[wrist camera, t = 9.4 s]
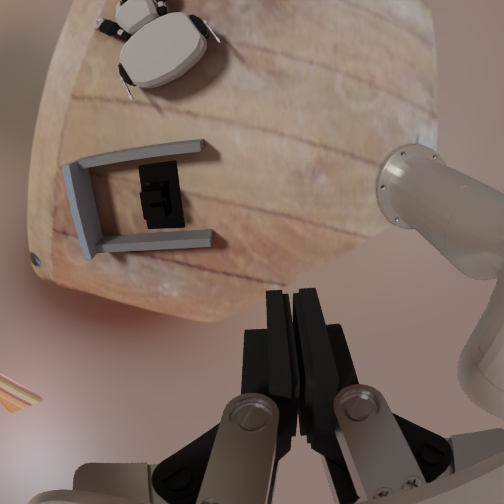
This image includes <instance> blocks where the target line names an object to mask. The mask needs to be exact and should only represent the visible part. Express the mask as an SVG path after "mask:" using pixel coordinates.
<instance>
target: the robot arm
mask: <svg viewBox="0 0 504 504" xmlns="http://www.w3.org/2000/svg"><path fill="white" fill-rule="evenodd" d="M401 153H402V155H401ZM382 185H383V186H382ZM381 186H382V187H381ZM376 197H377V201H378V205H379V207H380V209H381V211H382V213H383V214H384V215H385V217H386V218H387V219H388V220H389V221H390V222H392V223H393V224H394V225H396V226H399V227H401V228H405V229H416V230H417V231H418V232H419V233H420V234H421V235H422V236H423V237H424V238H425V239H426V240H428V241H429V242H430V243H431V244H432V245H433V246H434V247H435V248H436V249H437V250H438V251H439V252H440V253H441V254H442V255H443V256H444V257H445V258H446V259H448V260H449V261H450V262H451V263H452V264H453V265H454V266H455V267H456V268H457V269H458V270H459V271H460V272H461V273H462V274H464V275H466V276H467V277H469V278H472V279H476V280H491V279H496V278H497V282H496V285H495V288H494V290H493V292H492V295H491V297H490V301H489V303H488V305H487V307H486V309H485V310H484V312H483V314H482V316H481V318H480V320H479V322H478V324H477V325H476V327H475V329H474V331H473V333H472V334H471V336H470V338H469V339H468V341H467V343H466V345H465V346H464V348H463V350H462V353H461V355H460V358H459V361H458V367H457V375H458V380H459V383H460V386H461V388H462V389H463V391H464V392H465V394H466V395H467V396H468V398H470V400H471V401H472V402H473V403H475V404H476V405H477V406H478V407H480V408H481V409H483V410H485V411H486V412H488V413H490V414H492V415H494V416H496V417H498V418H501V419H503V420H504V193H502V192H500V191H498V190H496V189H494V188H492V187H490V186H488V185H486V184H484V183H482V182H480V181H478V180H476V179H474V178H472V177H470V176H468V175H466V174H463V173H461V172H459V171H456V170H455V169H452V168H450V167H448V166H446V165H445V163H444V161H443V159H442V158H441V157H440V155H439V154H438V153H436V152H435V151H434V150H433V149H431V148H429V147H426V146H423V145H418V144H411V145H405V146H403V147H400V148H398V149H397V150H395V151H394V152H393V153H392V154H391V155H389V156H388V158H387V159H386V160H385V162H384V163H383V165H382V167H381V169H380V171H379V174H378V178H377V183H376ZM266 306H267V329H252V330H245V333H244V349H243V350H244V351H243V367H242V387H241V395H239V396H237V397H235V398H233V399H232V400H231V401H230V402H229V403H228V404H227V405H226V407H225V409H224V411H223V414H222V418H221V421H220V423H219V424H218V425H216V426H215V427H213V428H212V429H210V430H209V431H208V432H206V433H205V434H203V435H202V436H201V437H199V438H197V439H196V440H194V441H193V442H192V443H190V444H189V445H187V446H185V447H184V448H182V449H181V450H179V451H178V452H176V453H175V454H173V455H172V456H170V457H169V458H167V459H165V460H164V461H162V462H161V463H160V464H156V465H155V464H154V465H149V464H147V463H85V464H83V465H82V466H80V467H79V468H78V469H77V470H76V472H75V475H74V478H73V490H52V491H47V492H43V493H40V494H38V495H36V496H35V497H34V498H33V499H31V500H30V502H29V503H28V504H272V503H273V497H274V491H275V485H276V478H277V472H278V465H279V460H280V459H281V458H282V457H283V456H284V455H285V454H286V453H287V452H289V451H290V449H291V437H292V436H296V427H297V416H298V415H299V425H300V434H301V436H302V435H307V443H311V448H312V449H314V450H315V451H317V452H318V453H320V455H321V460H322V463H323V467H324V470H325V473H326V476H327V480H328V483H329V486H330V489H331V492H332V495H333V499H334V502H335V504H504V429H502V428H499V429H498V428H496V429H491V430H485V431H479V432H473V433H466V434H459V435H452V436H451V437H450V438H445V439H444V438H443V437H441V436H440V435H437V434H435V433H433V432H431V431H428V430H426V429H424V428H422V427H420V426H418V425H416V424H414V423H412V422H410V421H408V420H406V419H404V418H402V417H399V416H398V415H396V414H394V413H392V412H391V410H390V408H389V406H388V404H387V402H386V400H385V399H384V397H383V395H382V394H381V393H380V392H379V391H378V390H376V389H375V388H373V387H371V386H368V385H363V384H359V382H358V379H357V376H356V372H355V369H354V366H353V362H352V359H351V355H350V352H349V349H348V346H347V342H346V339H345V336H344V333H343V330H342V327H341V325H340V324H330V325H326V324H325V321H324V317H323V313H322V310H321V306H320V302H319V299H318V295H317V291H316V289H315V288H306V289H305V288H304V289H299V293H294V294H293V323H292V315H291V309H290V302H289V295H288V294H282V290H269V291H266Z"/></svg>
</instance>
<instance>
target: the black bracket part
mask: <svg viewBox="0 0 504 504" xmlns="http://www.w3.org/2000/svg"><path fill="white" fill-rule="evenodd" d="M139 175H140V183H141V190H142V191H141V192H140V198H141V205H142V210H143V216H144V220H146V221H147V227H148V229H160V228H184V227H185V223H184V216H183V209H182V201H181V193H180V185H179V177H178V169H177V161H167V162H160V163H153V164H146V165H140V166H139Z"/></svg>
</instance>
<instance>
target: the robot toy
mask: <svg viewBox="0 0 504 504" xmlns="http://www.w3.org/2000/svg"><path fill="white" fill-rule="evenodd" d="M165 1H166V0H156V2H157V3H158V6H157V4H156V3H155V2H154V1H153V0H122V2H123V3H122V2H121V1H119V2H118V3H117V5H116V15H115V19H116V22H117V23H118V24H119V25H120V26H121V27H122V28H123V29H124V30H121V28H120V27H119V25H118V24H117V23H116V22H113V21H110V20H106V19H104V18H98V19H97V20H96V21H97V22H99V23H98V25H97V24H95V23H94V25H93V27H94V28H95V29H96V30H99V31H100V32H103V33H105V34H107V35H118V34H119V35H121V36H120V37H121V39H123V40H126V41H127V42H126V43H125V45H124V46H123V48H122V50H121V52H120V64H119V65H118V67H119V72H120V75H121V77H120V80H121V81H122V82H123V84H124V86H125V88H126V90H127V92H128V94H129V97H130V99H131V100H132V101H133V99H134V98H133V96H132V95H131V93H130V91H129V89H128V87H127V85H126V83H127V84H129V85H132V86H139V87H142V88H155V87H159V86H161V85H164V84H166V83H168V82H170V81H172V80H174V79H176V78H179V77H181V76H182V75H183V74H184V73H185V72H187V71H188V70H189V69H190V68H191V67H193V66H194V65H195V64H196V63H197V62H198V61H199V60H200V59H201V57H202V56H203V55H204V53H205V51H206V49H207V41H206V39H207V38H208V37H209V33H208V28H209V30H210V31H211V32H212V34H213V35H214V36H215V38H216V40H217V41H218V42H219V43H220V40H219V38H218V37H217V36H216V35H215V33H214V32H213V31H212V29H211V28H210V27H209V24H208V23H207V21H206V20H204V21H202V20H201V19H200V18H199V17H197V16H195V15H187V14H185V13H182V12H174V13H169V14H167V7H165V6H164V2H165ZM206 26H207V27H208V28H207V27H206ZM125 82H126V83H125Z"/></svg>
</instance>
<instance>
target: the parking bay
mask: <svg viewBox="0 0 504 504" xmlns="http://www.w3.org/2000/svg"><path fill="white" fill-rule="evenodd" d="M203 149H204V139H199V140H190V141H181V142H172V143H165V144H157V145H150V146H143V147H137V148H131V149H125V150H119V151H114V152H108V153H103V154H98V155H93V156H88V157H84V158H80V159H77V160H75V161H73V162H70V163H68V164H65V165H63V166H62V169H63V174H64V180H65V185H66V189H67V194H68V199H69V203H70V207H71V212H72V216H73V220H74V224H75V227H76V231H77V235H78V238H79V242H80V245H81V249H82V252H83V256H84V259H85V260H92V259H93V257H94V256H95V255H96V254H97V253H106V252H123V251H141V250H159V249H178V248H197V247H211V244H212V240H213V231H212V229H209V230H192V231H176V232H161V233H147V234H133V235H120V236H107V237H103V233H102V229H101V225H100V220H99V216H98V212H97V207H96V202H95V198H94V193H93V188H92V182H91V177H90V171H89V167H94V166H100V165H105V164H111V163H117V162H123V161H129V160H136V159H142V158H150V157H157V156H165V155H173V154H182V153H192V152H201V151H202V150H203Z"/></svg>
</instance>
